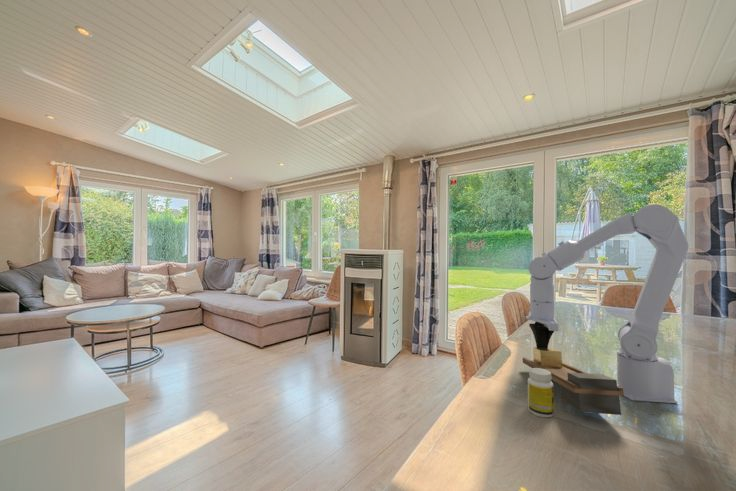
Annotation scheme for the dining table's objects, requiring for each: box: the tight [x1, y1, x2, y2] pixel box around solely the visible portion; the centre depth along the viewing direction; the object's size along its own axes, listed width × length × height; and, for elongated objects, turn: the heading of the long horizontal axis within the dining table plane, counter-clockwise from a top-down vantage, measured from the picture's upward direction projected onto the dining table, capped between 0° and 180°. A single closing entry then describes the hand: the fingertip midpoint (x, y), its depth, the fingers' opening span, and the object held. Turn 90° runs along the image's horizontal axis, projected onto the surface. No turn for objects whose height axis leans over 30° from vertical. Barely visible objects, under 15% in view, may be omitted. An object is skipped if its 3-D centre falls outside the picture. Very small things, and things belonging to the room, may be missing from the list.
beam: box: [522, 357, 625, 416], centre depth 72 cm, size 9×28×6 cm, turn 172°
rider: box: [532, 346, 563, 368], centre depth 80 cm, size 5×5×4 cm
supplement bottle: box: [527, 367, 555, 418], centre depth 63 cm, size 5×5×8 cm
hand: (542, 350), depth 83 cm, fingers closed
